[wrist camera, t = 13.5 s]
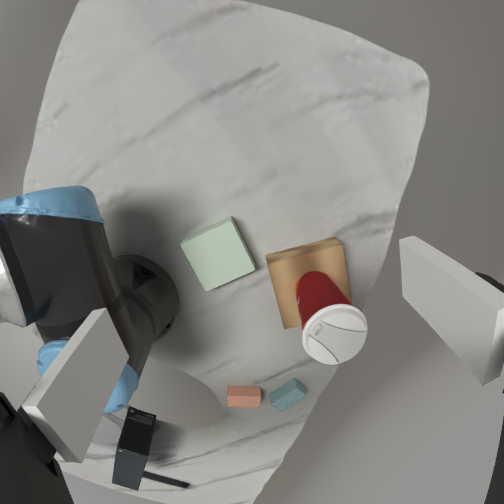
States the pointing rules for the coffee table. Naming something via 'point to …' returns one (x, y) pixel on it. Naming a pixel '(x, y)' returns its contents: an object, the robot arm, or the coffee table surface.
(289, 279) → the oak block
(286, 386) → the brick
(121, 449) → the box
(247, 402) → the brick
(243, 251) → the sage pad
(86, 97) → the coffee table surface
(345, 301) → the paper cup
